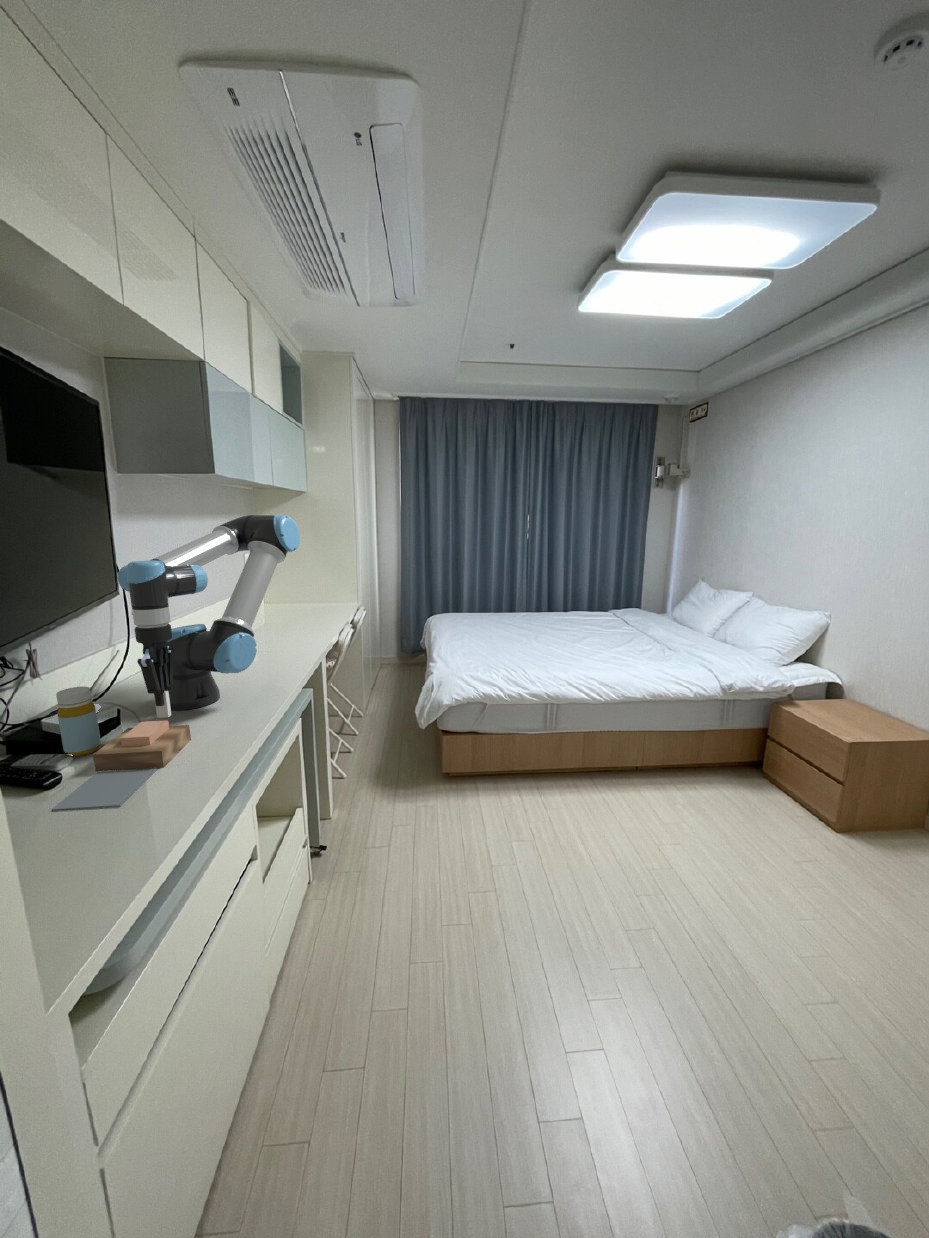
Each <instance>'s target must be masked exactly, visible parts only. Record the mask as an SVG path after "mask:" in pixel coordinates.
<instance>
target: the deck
mask: <svg viewBox="0 0 929 1238" xmlns="http://www.w3.org/2000/svg"><path fill="white" fill-rule="evenodd" d="M133 728H134V727H128V728H126V729H125V730H124V731H122V732H121V733H119V734H118V735H117V736H115V738H113V739H112V740H110V741H109V742H108V743H106V744H105V745H104V746H102V747H101V748H99V749H98V750H96V751H95V752H93V754H92V758H93V764H94V770H95V772H104V771H122V770H139V769H163V768H165V767H166V766H167V765H168V764H169V763H170V762H171V761H172V760H173V759H174V758H175V757H176V756H177V755H178V754H179V753H180V752H181V751H182V750H183V749H184V748H185V747H186V746H187V745H188V744H189V743H190V741H191V740H192V737H191V730H190V724H179V725H169V729H168V730H167V731H165V732H164V733H163V734H162V735H161V736H160V737H159V738H157V739H156V740H155V741H154V742H153V743H152V744H151V745H137V746H122V744H121V737H122V736H124V735H125V734H126V733H128V732H129V731H130V730H132V729H133Z"/></svg>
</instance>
